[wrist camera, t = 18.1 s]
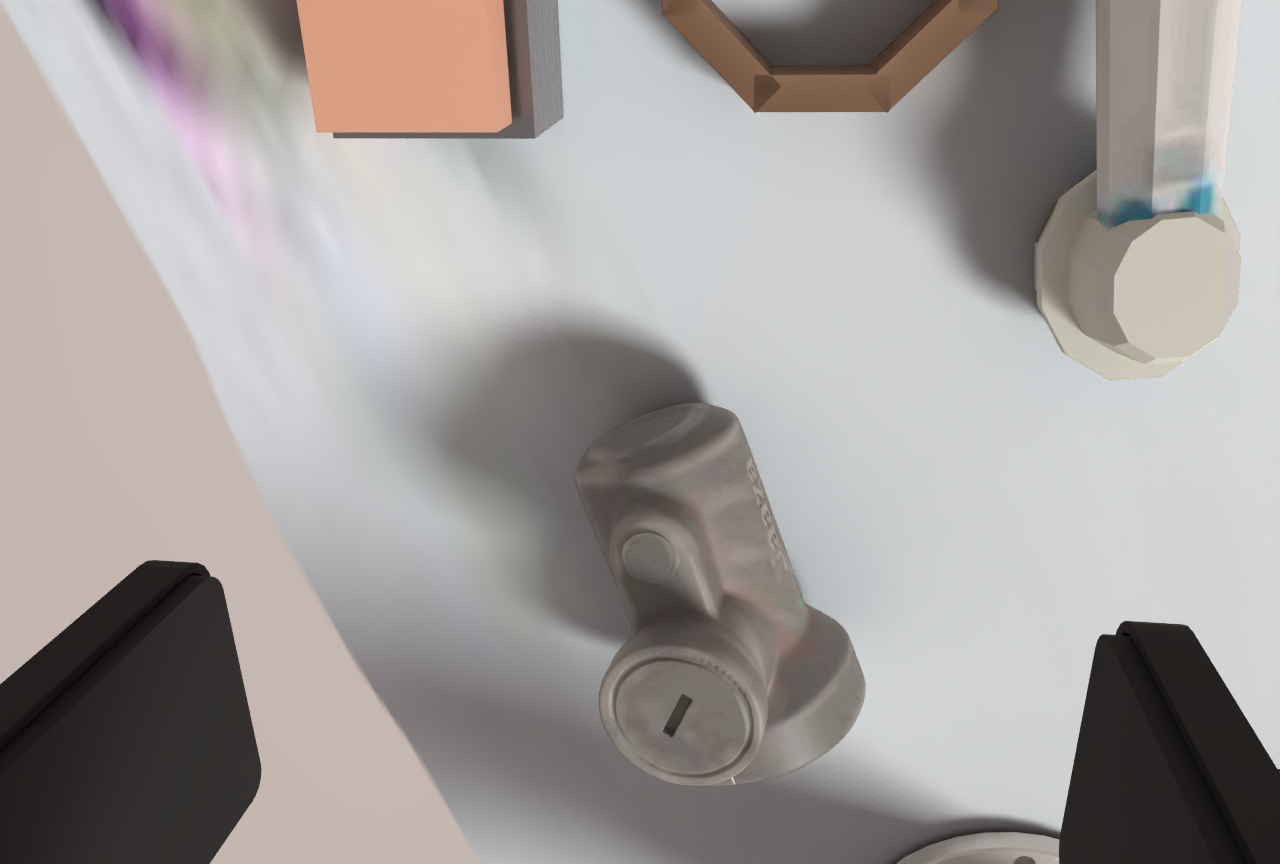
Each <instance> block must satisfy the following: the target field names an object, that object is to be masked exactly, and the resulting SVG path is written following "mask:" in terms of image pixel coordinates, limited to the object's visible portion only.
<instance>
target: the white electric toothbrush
mask: <svg viewBox="0 0 1280 864" xmlns="http://www.w3.org/2000/svg"><path fill="white" fill-rule="evenodd" d="M1241 8H1242V0H1096V132H1097V169H1096V170H1095V171H1094V172H1092V173H1091V174H1090V175H1088V176H1087V177H1086V178H1084V179H1083V180H1082V181H1080V182H1079V183H1078V184H1077V185H1075V186H1074V187H1073V188H1071V189H1070V190H1069V191H1067V192H1066V193H1065V194H1063V195H1062V196H1061V197H1060V198H1058V199H1057V203H1056V205H1055V208H1054V210H1053V212H1052V214H1051V216H1050V218H1049V220H1048V222H1047V224H1046V226H1045V228H1044V230H1043V232H1042V234H1041V236H1040V238H1039V241H1038V242H1035V266H1034V289H1035V290H1037V306H1038V308H1039V310H1040V311H1041V313H1042V315H1043V317H1044V319H1045V321H1046V323H1047V325H1048V327H1049V328H1050V330H1051V332H1052V334H1053V336H1054V338H1055V340H1056V342H1057V344H1058V345H1059V347H1060V349H1061V351H1062V352H1063V353H1064V354H1066V355H1067V356H1068V357H1070V358H1072V359H1074V360H1075V361H1077V362H1079V363H1081V364H1082V365H1084V366H1086V367H1088V368H1089V369H1091V370H1093V371H1095V372H1096V373H1098V374H1100V375H1102V376H1103V377H1105V378H1107V379H1109V380H1121V379H1136V378H1152V377H1161V376H1163V375H1164V374H1166V373H1167V372H1169V371H1170V370H1172V369H1173V368H1175V367H1176V366H1178V365H1179V364H1181V363H1182V362H1184V361H1185V360H1187V359H1188V358H1190V357H1191V356H1193V355H1194V354H1196V353H1197V352H1199V351H1200V350H1201V349H1203V348H1204V347H1206V346H1207V345H1209V344H1210V343H1211V342H1213V341H1214V340H1216V339H1217V338H1218V337H1219V336H1220V334H1221V332H1222V331H1223V329H1224V327H1225V325H1226V324H1227V322H1228V320H1229V318H1230V316H1231V315H1232V313H1233V311H1234V309H1235V308H1236V306H1237V304H1238V301H1239V284H1240V268H1241V256H1240V254H1239V246H1240V232H1239V230H1238V228H1237V226H1236V224H1235V222H1234V220H1233V217H1232V215H1231V213H1230V211H1229V209H1228V207H1227V205H1226V203H1225V201H1224V199H1223V197H1222V195H1223V185H1224V175H1225V165H1226V155H1227V146H1228V136H1229V126H1230V116H1231V106H1232V96H1233V87H1234V77H1235V67H1236V57H1237V47H1238V37H1239V28H1240V18H1241Z"/></svg>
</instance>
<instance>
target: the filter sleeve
mask: <svg viewBox="0 0 1280 864" xmlns="http://www.w3.org/2000/svg"><path fill="white" fill-rule="evenodd" d="M997 3H998V0H936V1H935V2H934V3H932V4H931V5H930V6H929V7H928V8H927V9H926V10H925V11H924V12H923V13H922V14H921V15H920V16H919V17H918V18H917V19H916V20H915V21H914V22H913V23H912V24H911V25H910V26H909V27H908V28H907V29H906V30H905V31H904V32H903V33H902V34H901V35H900V36H899V37H898V38H896V39H895V40H894V41H893V42H892V43H891V44H890V45H889V46H888V47H887V48H886V49H885V50H884V51H883V52H882V53H881V54H880V55H879V56H878V57H877V58H876V59H875V60H874V61H873V62H872V63H871V64H870V65H835V66H771V64H770V63H769V62H768V61H767V60H766V59H765V58H764V57H763V56H762V55H761V54H760V53H759V52H758V50H757V49H756V48H755V47H754V46H753V45H752V44H751V43H750V42H749V41H748V40H747V39H746V37H745V36H744V35H743V34H742V33H741V32H740V31H739V30H738V29H737V28H736V27H735V26H734V24H733V23H732V22H731V21H730V20H729V19H728V18H727V17H726V16H725V15H724V14H723V13H722V11H721V10H720V9H719V8H718V7H717V6H716V5H715V4H714V3H713V2H712V1H711V0H662V15H664V16H665V17H666V18H667V19H668V20H669V21H670V23H671V24H672V25H673V26H674V27H675V28H676V29H677V30H678V31H679V32H680V33H681V34H682V35H683V36H684V37H685V38H686V40H687V41H688V42H689V43H690V44H691V45H692V46H693V47H694V48H695V49H696V50H697V51H698V52H699V53H700V54H701V55H702V57H703V58H704V59H705V60H706V61H707V62H708V63H709V64H710V65H711V66H712V67H713V68H714V69H715V70H716V71H717V72H718V74H719V75H720V76H721V77H722V78H723V79H724V80H725V81H726V82H727V83H728V84H729V85H730V86H731V87H732V88H733V89H734V91H735V92H736V93H737V94H738V95H739V96H740V97H741V98H742V99H743V100H744V101H745V102H746V103H747V104H748V105H749V106H750V107H751V109H752V110H753V111H754V112H755V113H756V112H886V113H887V112H889V110H890V109H891V108H892V107H893V106H894V105H895V104H896V103H897V102H898V101H900V100H901V99H902V98H903V97H904V96H905V95H906V94H907V93H908V92H909V91H910V90H911V89H912V88H913V87H914V86H915V85H917V84H918V83H919V82H920V81H921V80H922V79H923V78H924V77H925V76H926V75H927V74H928V73H929V72H930V71H931V70H932V69H934V68H935V67H936V66H937V65H938V64H939V63H940V62H941V61H942V60H943V59H944V58H945V57H946V56H947V55H948V54H950V53H951V52H952V51H953V50H954V49H955V48H956V47H957V46H958V45H959V44H960V43H961V42H962V41H963V40H964V39H965V38H967V37H968V36H969V35H970V34H971V33H972V32H973V31H974V30H975V29H976V28H977V27H978V26H979V25H980V24H981V23H982V22H984V21H985V20H986V19H987V18H988V17H989V16H990V15H991V14H992V13H993V12H994V11H997Z"/></svg>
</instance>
